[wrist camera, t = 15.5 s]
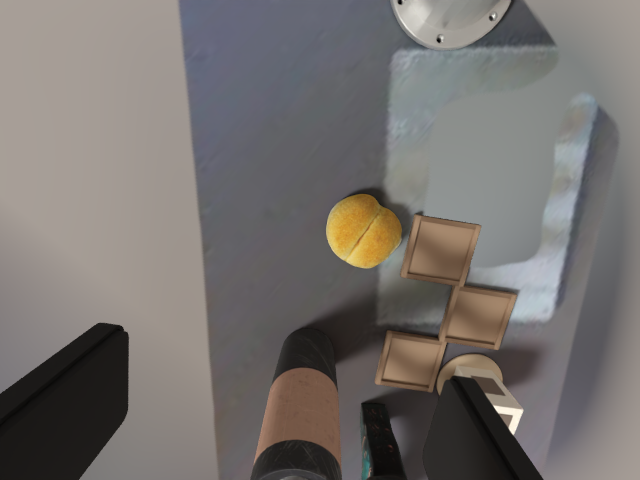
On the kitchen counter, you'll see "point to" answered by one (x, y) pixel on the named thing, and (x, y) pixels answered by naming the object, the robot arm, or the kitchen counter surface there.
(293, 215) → the kitchen counter surface
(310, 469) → the travel mug
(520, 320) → the kitchen counter surface
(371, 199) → the bread roll
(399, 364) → the tray
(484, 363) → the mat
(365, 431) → the ceramic cat
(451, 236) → the tray
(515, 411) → the white box with panels
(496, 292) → the tray
